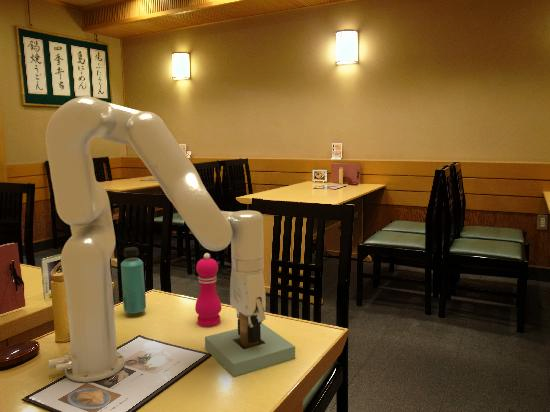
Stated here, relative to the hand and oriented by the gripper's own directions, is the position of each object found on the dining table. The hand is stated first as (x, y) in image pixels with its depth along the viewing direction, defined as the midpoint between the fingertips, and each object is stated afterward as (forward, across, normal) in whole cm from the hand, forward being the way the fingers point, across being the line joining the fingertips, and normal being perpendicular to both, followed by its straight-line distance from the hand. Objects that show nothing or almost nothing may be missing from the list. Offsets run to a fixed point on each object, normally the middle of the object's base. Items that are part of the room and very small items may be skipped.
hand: (249, 336), depth 112 cm
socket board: (+4, 0, 0) cm, 4 cm away
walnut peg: (+3, 0, 0) cm, 3 cm away
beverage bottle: (+4, -39, -17) cm, 43 cm away
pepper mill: (+4, -22, -1) cm, 22 cm away
